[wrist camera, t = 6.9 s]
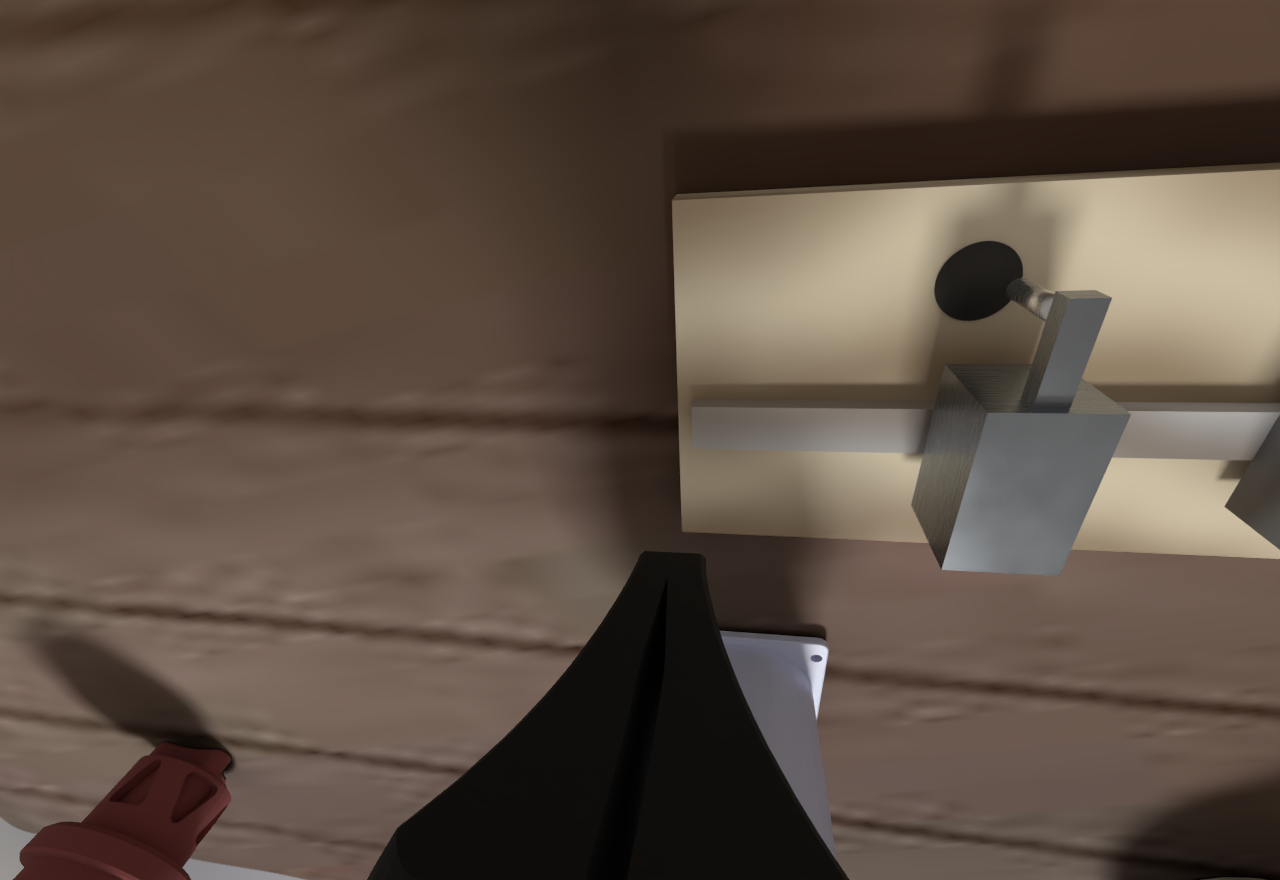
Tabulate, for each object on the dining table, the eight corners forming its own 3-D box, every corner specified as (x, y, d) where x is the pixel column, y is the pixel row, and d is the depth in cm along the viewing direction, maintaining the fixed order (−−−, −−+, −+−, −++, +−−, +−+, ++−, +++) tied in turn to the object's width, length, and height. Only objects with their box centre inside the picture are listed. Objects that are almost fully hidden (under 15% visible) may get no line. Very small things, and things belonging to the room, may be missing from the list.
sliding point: (1003, 499, 18) (1059, 576, 15) (906, 496, 18) (941, 569, 15) (1085, 262, 14) (1182, 300, 11) (959, 266, 14) (1020, 303, 11)
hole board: (1340, 533, 19) (1523, 657, 14) (684, 508, 22) (673, 601, 18) (1638, 143, 13) (2104, 155, 8) (676, 194, 16) (656, 220, 12)
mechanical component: (115, 734, 41) (183, 708, 38) (221, 802, 45) (292, 784, 41) (-94, 943, 31) (-29, 935, 27) (66, 1009, 35) (142, 1010, 31)
